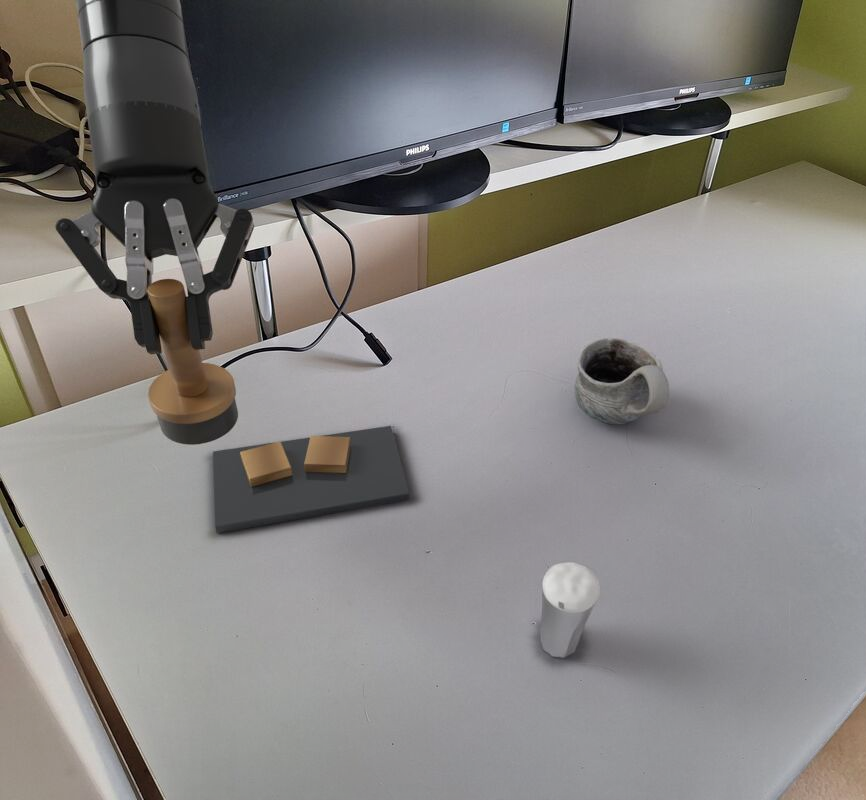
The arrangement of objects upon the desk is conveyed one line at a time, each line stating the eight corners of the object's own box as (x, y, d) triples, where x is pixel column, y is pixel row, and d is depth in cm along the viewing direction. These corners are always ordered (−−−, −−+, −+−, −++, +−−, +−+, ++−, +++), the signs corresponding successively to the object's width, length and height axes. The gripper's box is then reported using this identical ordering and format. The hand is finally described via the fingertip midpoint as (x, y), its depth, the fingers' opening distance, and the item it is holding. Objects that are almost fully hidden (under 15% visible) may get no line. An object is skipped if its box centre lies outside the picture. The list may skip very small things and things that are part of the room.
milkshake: (520, 660, 64) (532, 591, 57) (544, 610, 68) (557, 540, 61) (571, 682, 63) (589, 614, 56) (591, 630, 67) (610, 561, 60)
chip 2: (305, 472, 76) (304, 463, 75) (311, 443, 79) (310, 435, 78) (346, 473, 76) (345, 464, 76) (350, 445, 79) (350, 436, 79)
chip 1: (251, 487, 74) (249, 479, 73) (241, 460, 76) (239, 451, 75) (292, 475, 75) (291, 467, 75) (281, 449, 78) (280, 440, 77)
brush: (156, 452, 60) (112, 317, 51) (159, 399, 64) (119, 267, 56) (242, 440, 62) (213, 308, 53) (239, 389, 66) (212, 260, 58)
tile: (216, 533, 70) (214, 526, 70) (214, 458, 77) (212, 451, 77) (409, 499, 76) (409, 493, 75) (391, 432, 83) (390, 425, 82)
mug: (614, 373, 94) (628, 306, 88) (686, 433, 87) (708, 365, 81) (553, 399, 90) (564, 331, 83) (625, 465, 83) (643, 396, 76)
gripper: (19, 98, 51) (53, 355, 50) (240, 95, 55) (274, 332, 54) (55, 142, 58) (85, 367, 57) (248, 136, 62) (277, 346, 61)
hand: (177, 349), depth 56 cm, fingers closed on brush, 2 cm apart
